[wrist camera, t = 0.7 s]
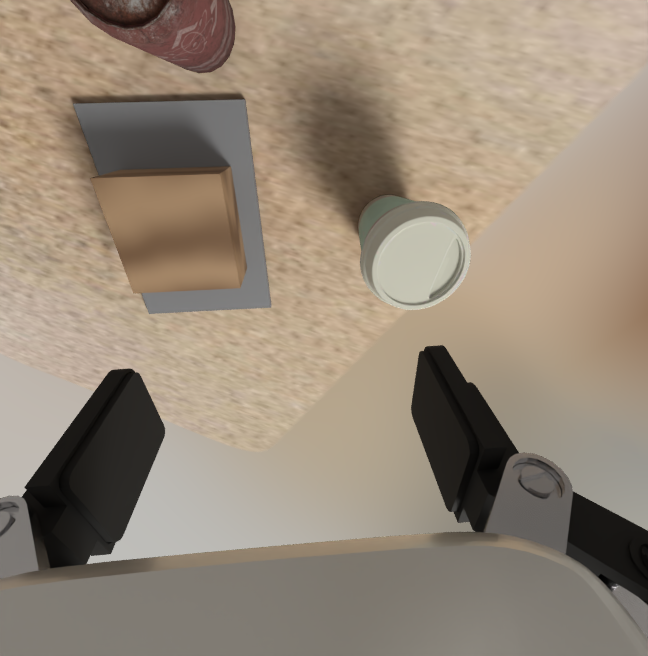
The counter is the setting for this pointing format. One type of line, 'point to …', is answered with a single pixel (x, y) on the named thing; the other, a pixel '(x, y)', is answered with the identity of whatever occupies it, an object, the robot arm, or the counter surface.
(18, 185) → the counter surface
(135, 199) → the block
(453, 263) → the coffee cup
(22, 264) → the counter surface
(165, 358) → the counter surface
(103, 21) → the can
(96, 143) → the mat
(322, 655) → the robot arm
